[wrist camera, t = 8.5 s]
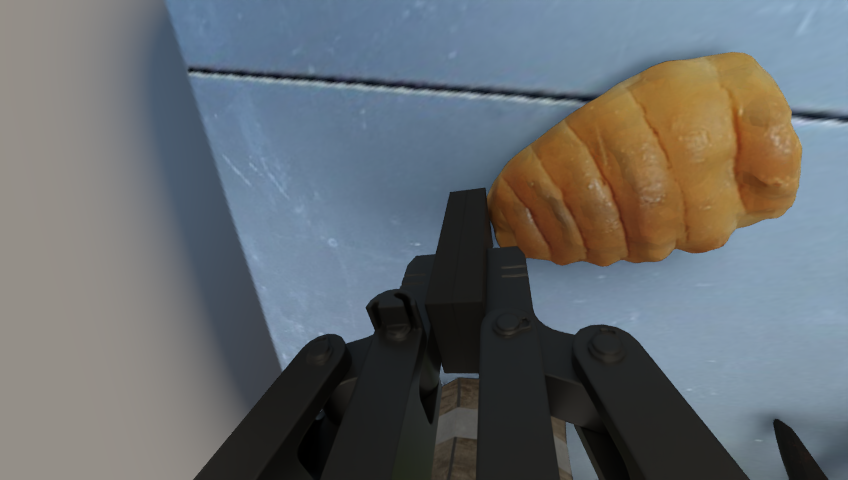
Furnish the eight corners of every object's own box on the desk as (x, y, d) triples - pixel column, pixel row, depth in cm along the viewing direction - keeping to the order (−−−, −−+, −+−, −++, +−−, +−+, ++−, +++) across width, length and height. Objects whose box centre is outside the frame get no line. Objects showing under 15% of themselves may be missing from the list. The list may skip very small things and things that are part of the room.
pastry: (518, 267, 17) (523, 323, 14) (460, 147, 14) (451, 183, 11) (749, 197, 13) (828, 252, 10) (731, 19, 11) (833, 18, 7)
